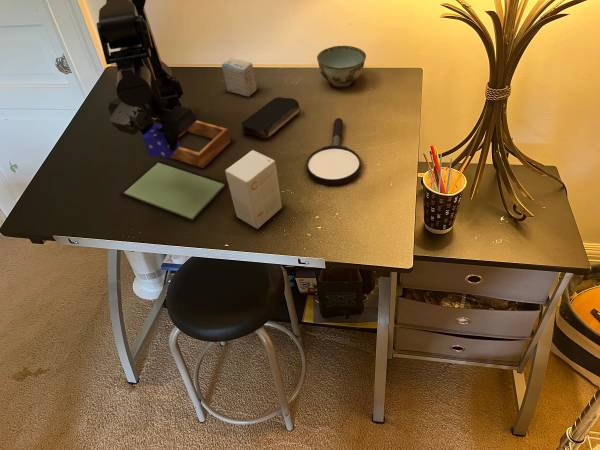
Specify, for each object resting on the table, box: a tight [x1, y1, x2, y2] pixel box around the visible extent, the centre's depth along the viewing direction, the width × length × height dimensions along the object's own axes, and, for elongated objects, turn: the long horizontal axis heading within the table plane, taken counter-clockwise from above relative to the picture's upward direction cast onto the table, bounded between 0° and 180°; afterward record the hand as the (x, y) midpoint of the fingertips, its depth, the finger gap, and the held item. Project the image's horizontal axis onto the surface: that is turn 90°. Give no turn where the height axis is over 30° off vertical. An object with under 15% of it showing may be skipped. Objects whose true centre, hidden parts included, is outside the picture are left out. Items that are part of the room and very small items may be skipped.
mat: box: [123, 162, 226, 221], centre depth 106 cm, size 20×12×1 cm, turn 61°
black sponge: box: [240, 96, 300, 139], centre depth 121 cm, size 16×8×4 cm, turn 144°
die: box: [142, 123, 181, 159], centre depth 98 cm, size 5×5×5 cm
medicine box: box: [221, 57, 258, 98], centre depth 132 cm, size 8×4×9 cm, turn 58°
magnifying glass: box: [306, 117, 362, 186], centre depth 110 cm, size 12×24×2 cm, turn 173°
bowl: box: [316, 45, 367, 88], centre depth 131 cm, size 14×13×8 cm
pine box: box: [170, 120, 231, 169], centre depth 116 cm, size 15×12×4 cm
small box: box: [224, 149, 283, 230], centre depth 94 cm, size 8×6×13 cm
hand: (163, 146), depth 99 cm, fingers closed on die, 5 cm apart
